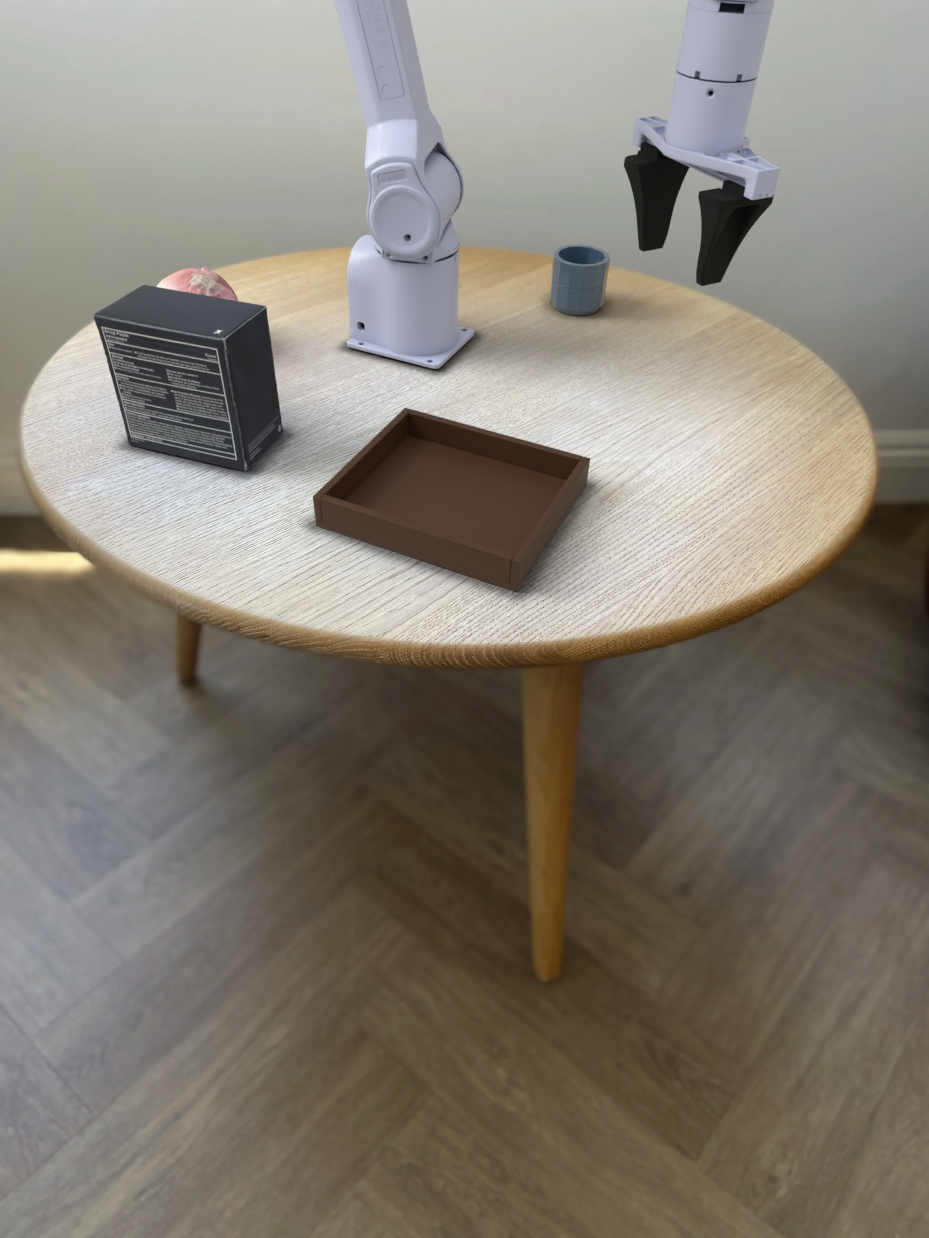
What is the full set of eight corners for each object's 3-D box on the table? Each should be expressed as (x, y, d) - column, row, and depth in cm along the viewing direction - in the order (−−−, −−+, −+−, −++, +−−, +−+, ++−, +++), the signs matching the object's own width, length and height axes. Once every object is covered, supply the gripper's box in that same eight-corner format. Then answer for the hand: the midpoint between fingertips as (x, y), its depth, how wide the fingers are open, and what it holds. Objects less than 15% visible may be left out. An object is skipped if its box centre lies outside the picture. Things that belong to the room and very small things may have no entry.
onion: (201, 377, 75) (184, 295, 70) (137, 353, 78) (117, 273, 73) (263, 342, 80) (252, 263, 75) (201, 320, 82) (186, 243, 78)
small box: (288, 431, 69) (271, 302, 62) (247, 474, 64) (224, 341, 57) (173, 405, 71) (143, 278, 64) (125, 446, 67) (88, 314, 59)
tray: (315, 525, 60) (312, 496, 58) (405, 435, 69) (405, 407, 67) (517, 592, 56) (520, 562, 54) (586, 486, 64) (590, 457, 63)
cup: (540, 310, 86) (545, 259, 83) (560, 289, 90) (565, 240, 86) (592, 321, 85) (598, 270, 81) (609, 300, 88) (617, 250, 85)
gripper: (832, 92, 59) (777, 290, 68) (695, 48, 68) (663, 228, 77) (752, 102, 56) (706, 306, 65) (622, 55, 65) (598, 240, 75)
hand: (678, 265), depth 71 cm, fingers open, 7 cm apart
